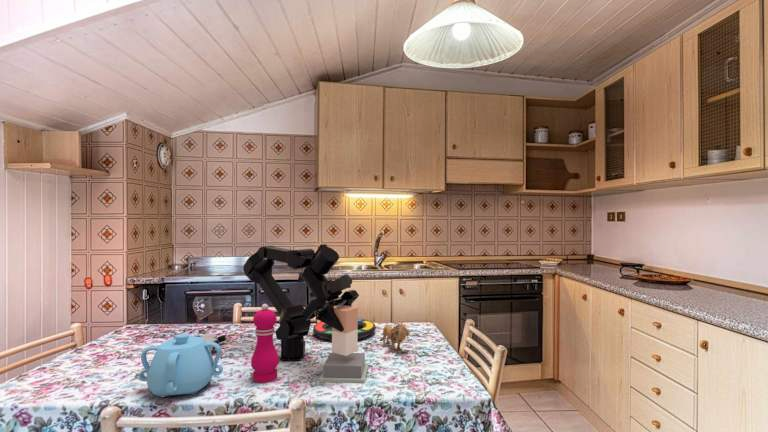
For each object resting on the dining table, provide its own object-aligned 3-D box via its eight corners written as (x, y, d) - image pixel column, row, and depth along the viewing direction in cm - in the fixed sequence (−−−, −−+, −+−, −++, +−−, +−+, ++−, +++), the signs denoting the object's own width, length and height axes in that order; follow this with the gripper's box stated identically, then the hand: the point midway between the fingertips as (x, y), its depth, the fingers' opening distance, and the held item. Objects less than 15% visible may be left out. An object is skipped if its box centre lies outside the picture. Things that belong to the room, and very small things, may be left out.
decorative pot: (228, 386, 104) (228, 333, 104) (162, 409, 92) (162, 349, 92) (198, 371, 115) (198, 322, 115) (135, 389, 102) (135, 335, 102)
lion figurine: (412, 352, 129) (412, 324, 129) (399, 356, 126) (399, 327, 126) (385, 340, 141) (385, 315, 141) (372, 343, 138) (372, 317, 138)
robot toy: (194, 345, 140) (173, 357, 125) (195, 332, 140) (173, 342, 125) (230, 345, 140) (213, 357, 125) (231, 331, 140) (213, 342, 125)
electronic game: (388, 333, 151) (388, 320, 151) (342, 348, 134) (342, 334, 134) (345, 322, 166) (345, 310, 166) (300, 335, 149) (300, 322, 149)
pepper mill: (263, 386, 104) (263, 308, 104) (245, 379, 108) (244, 304, 108) (284, 376, 110) (284, 302, 110) (266, 371, 114) (266, 299, 114)
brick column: (331, 352, 112) (332, 308, 111) (343, 347, 116) (343, 305, 116) (346, 355, 109) (346, 311, 109) (357, 350, 113) (357, 307, 113)
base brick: (318, 382, 107) (318, 366, 106) (327, 365, 119) (327, 351, 118) (364, 383, 106) (364, 367, 106) (368, 365, 118) (368, 352, 118)
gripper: (310, 270, 106) (344, 318, 100) (353, 262, 122) (384, 304, 116) (289, 296, 111) (319, 344, 105) (333, 286, 126) (362, 327, 120)
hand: (348, 328), depth 111 cm, fingers closed on brick column, 5 cm apart
